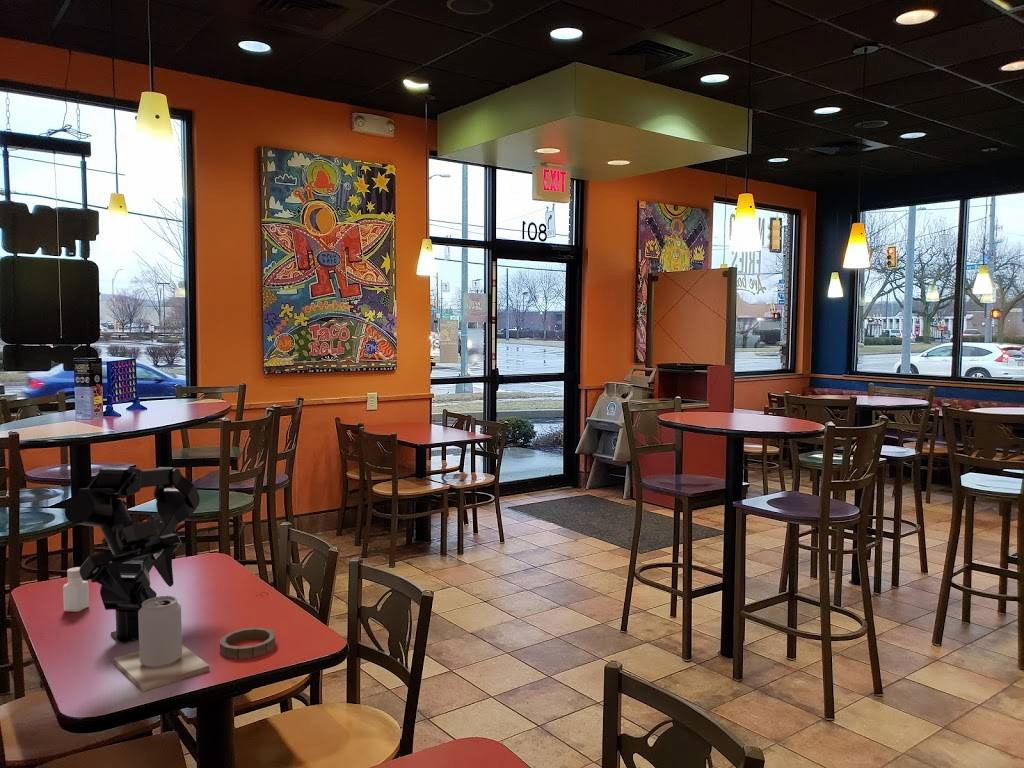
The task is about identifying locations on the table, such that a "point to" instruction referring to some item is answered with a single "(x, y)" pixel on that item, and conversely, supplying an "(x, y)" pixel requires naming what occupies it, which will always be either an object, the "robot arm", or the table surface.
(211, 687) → the table surface
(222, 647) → the walnut collar
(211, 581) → the table surface
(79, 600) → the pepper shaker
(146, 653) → the can
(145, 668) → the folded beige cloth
